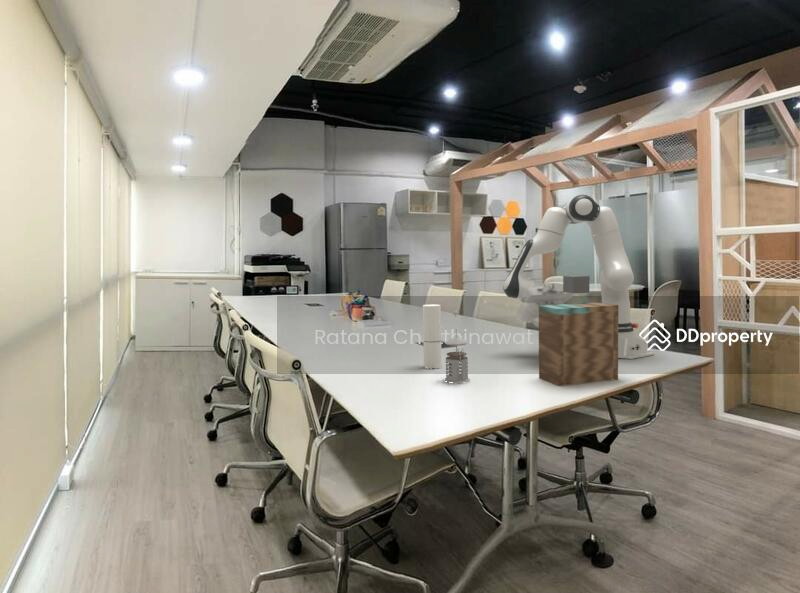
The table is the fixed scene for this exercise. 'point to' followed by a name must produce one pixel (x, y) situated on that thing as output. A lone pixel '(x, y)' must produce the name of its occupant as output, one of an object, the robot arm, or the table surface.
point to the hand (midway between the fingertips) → (558, 285)
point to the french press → (456, 361)
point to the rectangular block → (572, 284)
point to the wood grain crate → (578, 343)
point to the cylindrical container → (432, 336)
